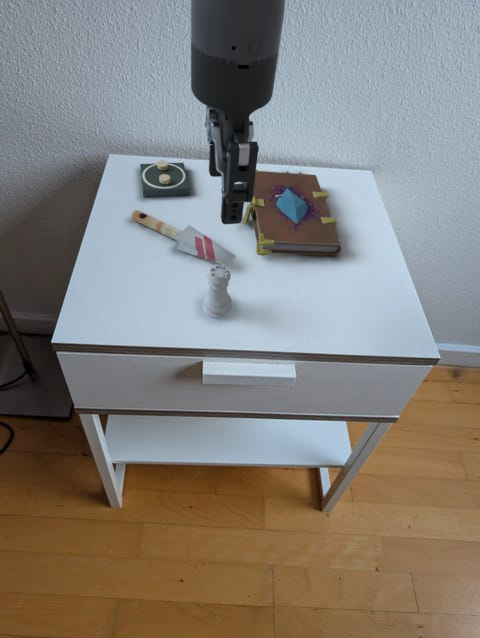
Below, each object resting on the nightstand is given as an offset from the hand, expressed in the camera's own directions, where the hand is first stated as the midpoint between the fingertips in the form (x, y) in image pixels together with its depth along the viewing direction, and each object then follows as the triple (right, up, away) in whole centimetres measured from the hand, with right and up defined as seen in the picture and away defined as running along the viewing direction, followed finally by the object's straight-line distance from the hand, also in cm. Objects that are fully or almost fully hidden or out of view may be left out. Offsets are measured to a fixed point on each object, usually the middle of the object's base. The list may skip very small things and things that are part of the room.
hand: (224, 197), depth 49 cm
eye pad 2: (-12, +12, +31) cm, 35 cm away
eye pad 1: (-13, +15, +33) cm, 39 cm away
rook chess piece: (-2, -12, +16) cm, 20 cm away
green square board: (-13, +12, +33) cm, 38 cm away
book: (+10, +6, +31) cm, 33 cm away
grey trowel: (-8, -1, +24) cm, 25 cm away
